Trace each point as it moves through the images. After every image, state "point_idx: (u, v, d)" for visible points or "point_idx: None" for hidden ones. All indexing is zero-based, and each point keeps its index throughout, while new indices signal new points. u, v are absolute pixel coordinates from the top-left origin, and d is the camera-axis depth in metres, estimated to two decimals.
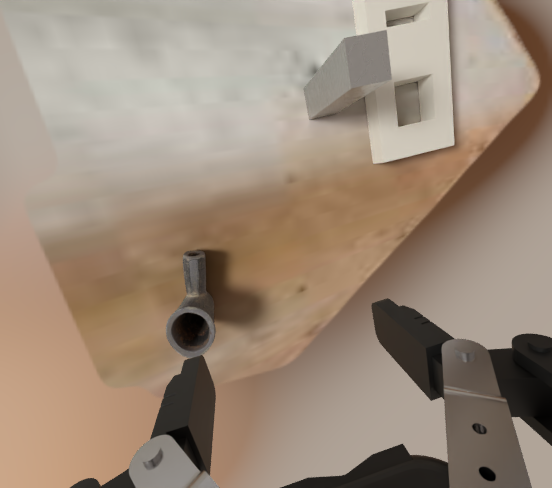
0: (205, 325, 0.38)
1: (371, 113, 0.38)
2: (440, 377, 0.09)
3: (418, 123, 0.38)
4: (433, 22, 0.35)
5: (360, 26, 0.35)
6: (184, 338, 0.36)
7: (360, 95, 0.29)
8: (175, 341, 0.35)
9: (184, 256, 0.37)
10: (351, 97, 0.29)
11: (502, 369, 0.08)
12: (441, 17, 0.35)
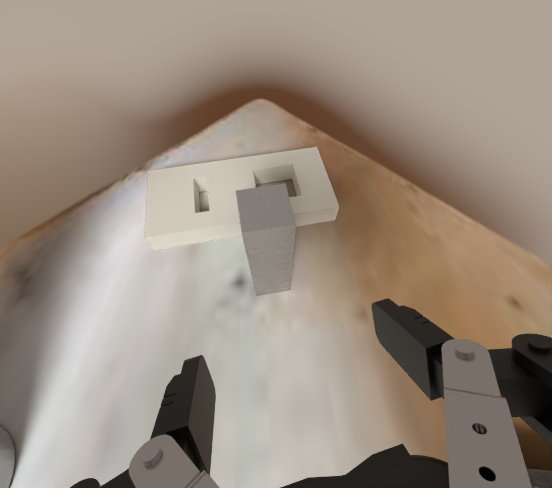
0: None
1: None
2: (440, 377, 0.09)
3: (297, 177, 0.36)
4: (209, 172, 0.37)
5: (203, 236, 0.34)
6: None
7: None
8: None
9: None
10: None
11: (502, 369, 0.08)
12: (206, 167, 0.38)
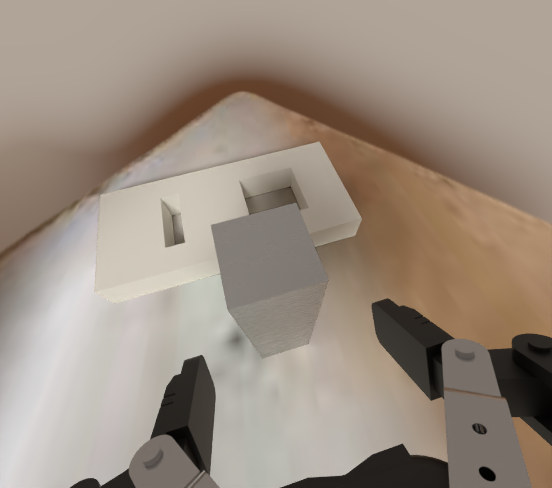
0: None
1: None
2: (440, 377, 0.09)
3: (300, 184, 0.27)
4: (182, 189, 0.28)
5: (180, 278, 0.25)
6: None
7: None
8: None
9: None
10: None
11: (502, 369, 0.08)
12: (177, 182, 0.28)
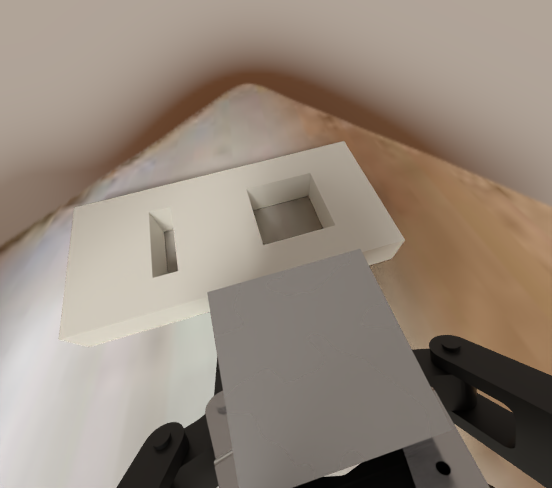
0: None
1: None
2: None
3: (322, 194, 0.22)
4: (176, 201, 0.22)
5: (172, 316, 0.19)
6: None
7: None
8: None
9: None
10: None
11: None
12: (170, 192, 0.23)
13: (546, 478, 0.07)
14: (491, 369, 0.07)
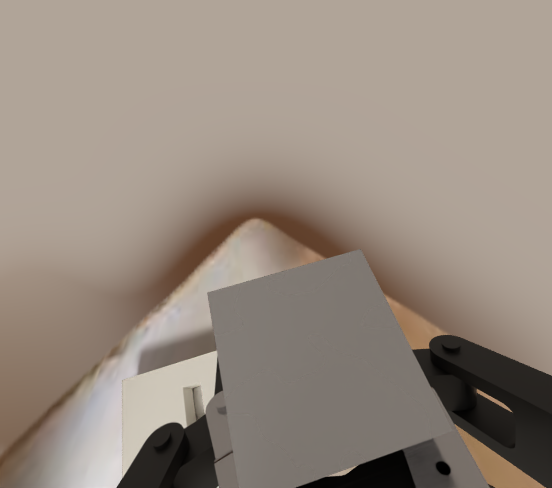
0: None
1: None
2: None
3: None
4: (204, 376, 0.28)
5: None
6: None
7: None
8: None
9: None
10: None
11: None
12: (198, 365, 0.29)
13: (546, 478, 0.07)
14: (491, 369, 0.07)
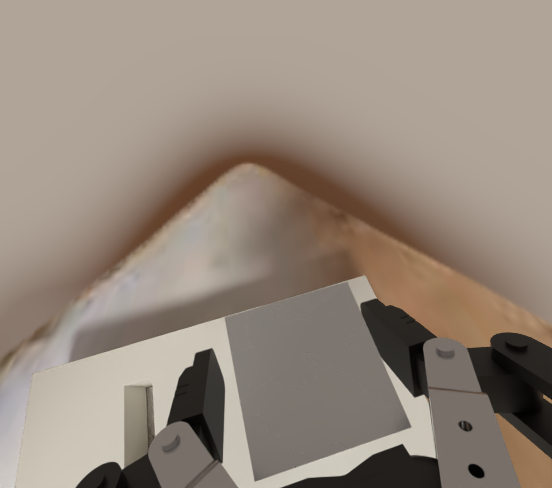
0: None
1: None
2: (422, 375, 0.09)
3: None
4: (159, 368, 0.18)
5: None
6: None
7: None
8: None
9: None
10: None
11: (480, 367, 0.08)
12: (152, 352, 0.18)
13: None
14: None
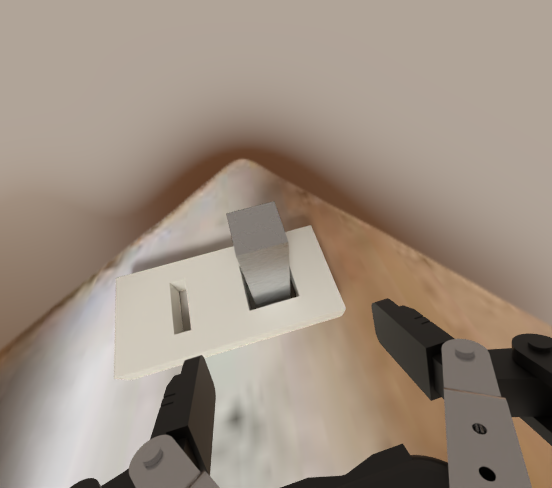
0: None
1: (283, 331, 0.29)
2: (440, 377, 0.09)
3: (292, 271, 0.31)
4: (188, 274, 0.31)
5: None
6: None
7: None
8: None
9: None
10: None
11: (502, 369, 0.08)
12: (184, 266, 0.32)
13: None
14: None
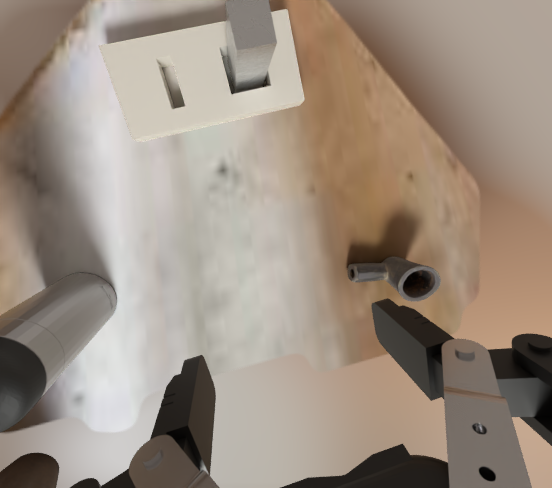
0: None
1: (256, 113, 0.39)
2: (440, 377, 0.09)
3: None
4: (172, 51, 0.34)
5: (184, 130, 0.38)
6: (421, 286, 0.45)
7: None
8: (423, 295, 0.44)
9: (353, 281, 0.46)
10: None
11: (502, 369, 0.08)
12: (166, 41, 0.34)
13: None
14: None
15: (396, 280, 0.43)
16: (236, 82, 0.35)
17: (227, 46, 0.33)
